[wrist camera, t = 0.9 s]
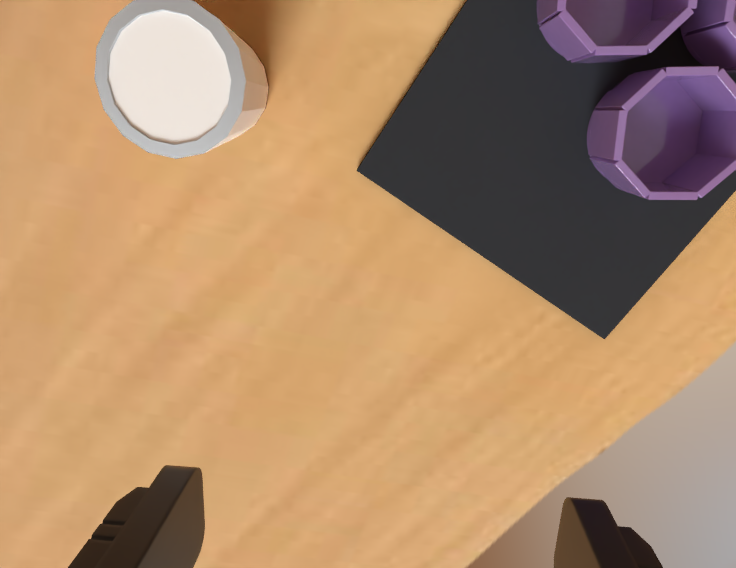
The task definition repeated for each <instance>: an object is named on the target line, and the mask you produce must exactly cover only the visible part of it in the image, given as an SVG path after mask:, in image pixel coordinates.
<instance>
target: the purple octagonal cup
mask: <svg viewBox="0 0 736 568" xmlns="http://www.w3.org/2000/svg"><path fill="white" fill-rule="evenodd" d="M697 2H698V0H537V18H538V24H539V26H540V27H539V29H540V30H541V32H542V34H543V36H544V37H545V39H546V41H547V42H548V43H549V45H550V46H551V47H552V48H553V49H554V50H555V51H556V52H557V53H559V54H560V55H561V56H563V57H564V58H565V59H566V60H567V61H570V60H571V63H600V62H619V61H623V60H627V59H631V58H635V57H639V56H643V55H646V54H647V53H651V52H653V51H654V50H655V49H656V48H657V47H658V46H659V45H660V44H661V43H662V42H663V41H664V40H665V39H667V38H668V37H669V36H670V35H671V34H672V33H673V32H674V31H675V30H676V29H677V28H678V27H679V26H681V25H682V24H683V23H684V22H685V21H686V20H687V19H688V18H689V17H690V16H691V15H692V14H693V13H694V12H693V9H696V8H697Z"/></svg>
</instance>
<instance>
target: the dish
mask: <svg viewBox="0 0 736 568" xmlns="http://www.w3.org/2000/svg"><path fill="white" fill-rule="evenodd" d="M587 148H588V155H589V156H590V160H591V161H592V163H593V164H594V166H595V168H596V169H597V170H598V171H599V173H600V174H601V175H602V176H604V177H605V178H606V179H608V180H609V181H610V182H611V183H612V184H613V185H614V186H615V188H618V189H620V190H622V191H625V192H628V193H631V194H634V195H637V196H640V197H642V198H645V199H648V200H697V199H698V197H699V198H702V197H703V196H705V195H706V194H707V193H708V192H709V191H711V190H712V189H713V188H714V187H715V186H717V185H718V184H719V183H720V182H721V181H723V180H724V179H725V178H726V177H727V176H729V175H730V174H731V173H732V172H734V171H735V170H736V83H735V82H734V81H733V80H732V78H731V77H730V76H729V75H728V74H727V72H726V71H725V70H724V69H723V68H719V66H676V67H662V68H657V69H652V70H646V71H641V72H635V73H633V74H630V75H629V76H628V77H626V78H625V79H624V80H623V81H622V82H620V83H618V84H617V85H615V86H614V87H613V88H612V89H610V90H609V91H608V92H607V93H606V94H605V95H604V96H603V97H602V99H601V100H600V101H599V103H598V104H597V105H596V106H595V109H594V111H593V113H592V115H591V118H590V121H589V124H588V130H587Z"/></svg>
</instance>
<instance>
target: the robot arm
mask: <svg viewBox="0 0 736 568" xmlns="http://www.w3.org/2000/svg"><path fill="white" fill-rule="evenodd" d="M204 530H205V520H204V500H203V480H202V472H201V469H200V468H196V467H183V466H170V465H166V466H164V467H163V468H162V470H161V471H160V472H159V474H158V475H157V477H156V478H155V480H154V481H153V483H152V484H151V486H150V487H149V488H143V487H137V488H135V489H134V490H133V491H131V492H130V493H128V494H127V495H126V496H124V497H123V498H121V499H120V500H119V501H117V502H116V503H115V505H114V506H113V507H112V509H111V510H110V512H109V513H108V514H107V516H106V517H105V518H104V520H103V523H102V524H100V525H99V526H98V528H97V529H96V530H95V532H94V533H93V534H92V538H91V539H89V540H88V541H87V543H86V544H85V545H84V547H83V548H82V549H81V551H80V552H79V553H78V555H77V556H76V557H75V559H74V560H73V561H72V563H71V564H70V566H69V567H68V568H193V567H194V564H195V562H196V560H197V558H198V556H199V553H200V550H201V547H202V543H203V538H204ZM554 568H663V567H662V565H661V563H660V562H659V560H658V558H657V556H656V554H655V553H654V551H653V549H652V547H651V546H650V545H649V544H648V543H647V542H646V541H645V540H643V539H642V538H641V537H640V536H639V535H638V534H637V533H636V532H635V531H634V530H632V528H630V527H619V526H617V524H616V522H615V520H614V518H613V516H612V514H611V512H610V510H609V509H608V506H607V505H606V503H605V502H604V501H603V500H595V499H581V498H569V497H568V498H566V499H565V501H564V503H563V508H562V514H561V519H560V525H559V531H558V536H557V542H556V548H555V554H554Z"/></svg>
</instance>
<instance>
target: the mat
mask: <svg viewBox="0 0 736 568" xmlns="http://www.w3.org/2000/svg"><path fill="white" fill-rule="evenodd" d="M539 27H540V26H539V24H538V18H537V0H467V1H466V3H465V4H464V6H463V7H462V9H461V10H460V12H459V13H458V15H457V17H456V18H455V20H454V21H453V23H452V24H451V26H450V27H449V29H448V30H447V32H446V33H445V35H444V37H443V38H442V40H441V41H440V43H439V44H438V46H437V47H436V49H435V50H434V52H433V53H432V55H431V57H430V58H429V60H428V61H427V63H426V64H425V66H424V67H423V69H422V70H421V72H420V74H419V75H418V77H417V78H416V80H415V81H414V83H413V84H412V86H411V87H410V89H409V90H408V92H407V94H406V95H405V97H404V98H403V100H402V101H401V103H400V104H399V106H398V107H397V109H396V110H395V112H394V114H393V115H392V117H391V118H390V120H389V121H388V123H387V124H386V126H385V127H384V129H383V130H382V132H381V134H380V135H379V137H378V138H377V140H376V141H375V143H374V144H373V146H372V147H371V149H370V150H369V152H368V154H367V155H366V157H365V158H364V160H363V161H362V163H361V164H360V166H359V167H358V169H357V171H358V172H360V173H361V174H363V175H364V176H366V177H367V178H368V179H370V180H371V181H373V182H374V183H376V184H377V185H379V186H380V187H382V188H383V189H385V190H386V191H388V192H389V193H390V194H392V195H393V196H395V197H396V198H398V199H399V200H401V201H402V202H404V203H405V204H407V205H408V206H410V207H411V208H412V209H414V210H415V211H417V212H418V213H420V214H421V215H423V216H424V217H426V218H427V219H429V220H430V221H432V222H433V223H434V224H436V225H437V226H439V227H440V228H442V229H443V230H445V231H446V232H448V233H449V234H451V235H452V236H454V237H455V238H456V239H458V240H459V241H461V242H462V243H464V244H465V245H467V246H468V247H470V248H471V249H473V250H474V251H476V252H477V253H479V254H480V255H481V256H483V257H484V258H486V259H487V260H489V261H490V262H492V263H493V264H495V265H496V266H498V267H499V268H501V269H502V270H503V271H505V272H506V273H508V274H509V275H511V276H512V277H514V278H515V279H517V280H518V281H520V282H521V283H523V284H524V285H525V286H527V287H528V288H530V289H531V290H533V291H534V292H536V293H537V294H539V295H540V296H542V297H543V298H545V299H546V300H547V301H549V302H550V303H552V304H553V305H555V306H556V307H558V308H559V309H561V310H562V311H564V312H565V313H567V314H568V315H569V316H571V317H572V318H574V319H575V320H577V321H578V322H580V323H581V324H583V325H584V326H586V327H587V328H589V329H590V330H591V331H593V332H594V333H596V334H597V335H599V336H600V337H602V338H603V339H605V338H606V337H607V336H608V335H609V334H610V332H611V331H612V330H613V329H614V328H615V327H616V326H617V324H618V323H619V322H620V321H621V320H622V319H623V318H624V317H625V315H626V314H627V313H628V312H629V311H630V310H631V309H632V307H633V306H634V305H635V304H636V303H637V302H638V301H639V300H640V298H641V297H642V296H643V295H644V294H645V293H646V292H647V290H648V289H649V288H650V287H651V286H652V285H653V284H654V282H655V281H656V280H657V279H658V278H659V277H660V276H661V275H662V273H663V272H664V271H665V270H666V269H667V268H668V267H669V265H670V264H671V263H672V262H673V261H674V260H675V259H676V258H677V256H678V255H679V254H680V253H681V252H682V251H683V250H684V248H685V247H686V246H687V245H688V244H689V243H690V242H691V240H692V239H693V238H694V237H695V236H696V235H697V234H698V233H699V231H700V230H701V229H702V228H703V227H704V226H705V225H706V223H707V222H708V221H709V220H710V219H711V218H712V217H713V216H714V214H715V213H716V212H717V211H718V210H719V209H720V208H721V206H722V205H723V204H724V203H725V202H726V201H727V200H728V198H729V197H730V196H731V195H732V194H733V193H734V192H735V191H736V170H735V171H734V172H732V173H731V174H730V175H729V176H727V177H726V178H725V179H724V180H723V181H721V182H720V183H719V184H718V185H717V186H715V187H714V188H713V189H712V190H711V191H709V192H708V193H707V194H706V195H705V196H703V197H702V198H699V197H698V199H697V200H648V199H645V198H642V197H640V196H637V195H634V194H631V193H628V192H625V191H622V190H620V189H618V188H615V186H614V185H613V184H612V183H611V182H610V181H609V180H608V179H606V178H605V177H604V176H602V175H601V174H600V173H599V171H598V170H597V169H596V168H595V166H594V164H593V163H592V161H591V160H590V156H589V155H588V148H587V130H588V124H589V121H590V118H591V115H592V113H593V111H594V109H595V106H596V105H597V104H598V103H599V101H600V100H601V99H602V97H603V96H604V95H605V94H606V93H607V92H608V91H609V90H610V89H612V88H613V87H614V86H615V85H617V84H618V83H620V82H622V81H623V80H624V79H625V78H626V77H628V76H629V75H630V74H633V73H635V72H641V71H646V70H652V69H657V68H662V67H676V66H704V65H702V64H701V63H699V62H698V61H697V60H696V59H695V58H694V57H693V56H692V55H691V53H690V52H689V51H688V49H687V47H686V45H685V43H684V41H683V37H682V34H681V28H680V26H679V27H678V28H677V29H676V30H675V31H674V32H673V33H672V34H671V35H670V36H669V37H668V38H667V39H665V40H664V41H663V42H662V43H661V44H660V45H659V46H658V47H657V48H656V49H655V50H654V51H653V52H651V53H647V54H646V55H643V56H639V57H635V58H631V59H627V60H623V61H619V62H600V63H571V60H570V61H567V60H566V59H565V58H564V57H563V56H561V55H560V54H559V53H557V52H556V51H555V50H554V49H553V48H552V47H551V46H550V45H549V43H548V42H547V41H546V39H545V37H544V36H543V34H542V32H541V30H540V29H539ZM727 74H728V75H729V76H730V77H731V78H732V80H733V81H734V82H735V83H736V73H727Z"/></svg>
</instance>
